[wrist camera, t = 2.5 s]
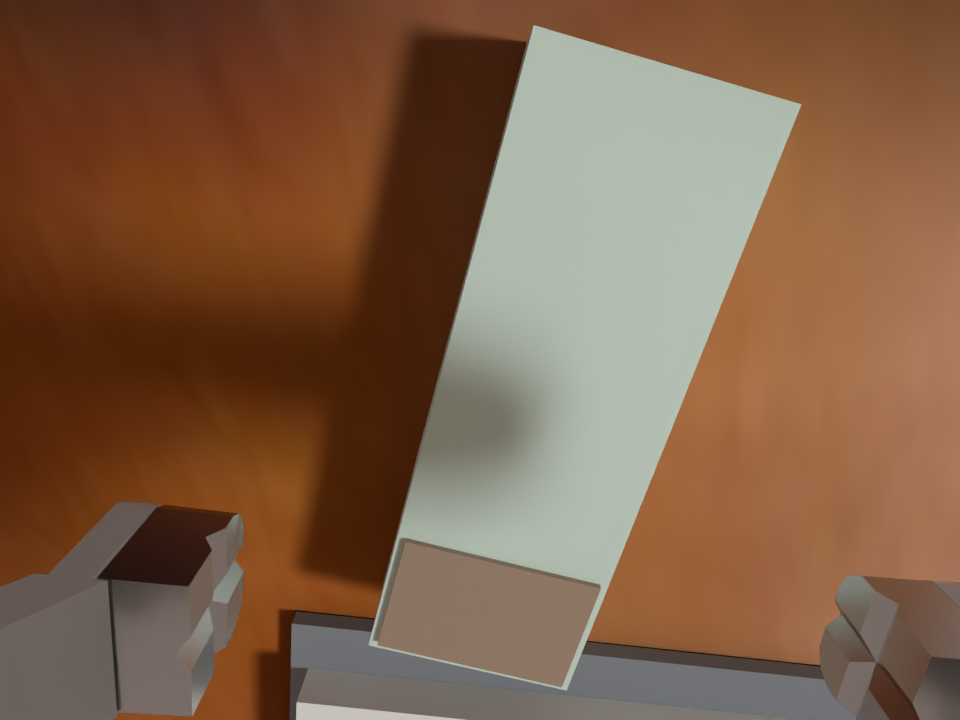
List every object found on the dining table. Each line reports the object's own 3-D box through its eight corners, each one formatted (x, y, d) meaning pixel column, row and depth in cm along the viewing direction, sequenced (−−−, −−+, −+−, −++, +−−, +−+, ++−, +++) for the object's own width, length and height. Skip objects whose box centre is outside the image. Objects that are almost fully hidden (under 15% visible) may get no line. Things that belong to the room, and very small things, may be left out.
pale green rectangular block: (743, 107, 15) (805, 103, 12) (556, 608, 20) (567, 695, 17) (526, 43, 15) (534, 23, 12) (387, 568, 19) (367, 649, 16)
